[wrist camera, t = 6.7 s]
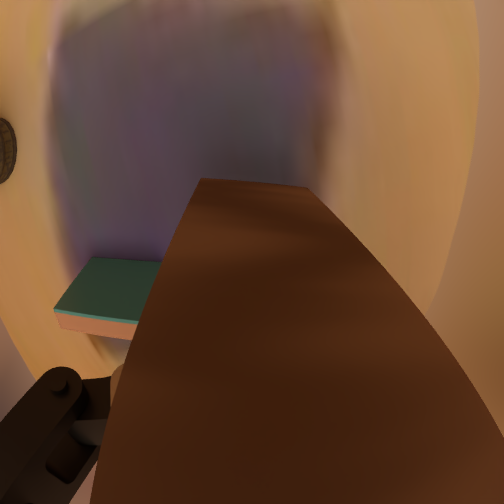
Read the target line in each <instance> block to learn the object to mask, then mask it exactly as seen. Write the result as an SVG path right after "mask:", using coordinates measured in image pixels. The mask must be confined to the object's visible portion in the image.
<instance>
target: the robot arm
mask: <svg viewBox="0 0 504 504" xmlns="http://www.w3.org/2000/svg"><path fill="white" fill-rule="evenodd" d="M123 365H124V364H122V365H120V366H119V367H118V368H116V370H115V371H114V372H113V374H112V376H109V377H105V378H96V379H83V380H82V379H81V377H80V376H79V374H78V373H77V372H76V371H74V370H73V369H71V368H68V367H55V368H52V369H50V370H48V371H47V372H45V373H44V374H43V375H42V376H41V377H40V378H39V379H38V381H37V382H36V383H35V384H34V385H33V386H32V387H31V388H30V389H29V390H28V391H27V392H26V394H25V395H24V396H23V397H22V398H21V399H20V400H19V401H18V402H17V404H16V405H15V406H14V407H13V408H12V409H11V410H10V412H9V413H8V414H7V415H6V416H5V417H4V419H3V420H2V421H1V422H0V504H69V503H70V501H71V499H72V498H73V496H74V495H75V493H76V492H77V490H78V489H79V487H80V486H81V484H82V483H83V481H84V480H85V478H86V477H87V475H88V474H89V472H90V471H91V469H92V468H93V466H94V465H95V463H96V461H97V460H98V457H99V452H100V448H101V444H102V440H103V435H104V431H105V428H106V424H107V420H108V416H109V412H110V409H111V405H112V402H113V398H114V395H115V391H116V388H117V385H118V381H119V378H120V375H121V372H122V369H123Z"/></svg>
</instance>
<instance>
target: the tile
mask: <svg viewBox="0 0 504 504" xmlns="http://www.w3.org/2000/svg"><path fill="white" fill-rule="evenodd" d="M161 263H162V262H153V261H138V260H125V259H111V258H98V257H92V258H91V259H90V260H89V262H88V263H87V264H86V265H85V267H84V268H83V269H82V270H81V272H80V273H79V274H78V276H77V277H76V278H75V280H74V281H73V282H72V283H71V285H70V286H69V288H68V289H67V290H66V292H65V293H64V294H63V296H62V297H61V298H60V300H59V301H58V303H57V304H56V306H55V307H54V308H53V309H54V312H55V315H56V317H57V320H58V323H59V325H60V328H62V329H67V330H72V331H77V332H83V333H88V334H94V335H100V336H107V337H113V338H120V339H127V340H132V339H133V336H134V333H135V330H136V327H137V325H138V322H139V319H140V316H141V314H142V311H143V308H144V306H145V303H146V301H147V298H148V295H149V293H150V290H151V288H152V285H153V283H154V280H155V278H156V275H157V273H158V271H159V268H160V266H161Z"/></svg>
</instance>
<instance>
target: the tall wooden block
mask: <svg viewBox="0 0 504 504" xmlns="http://www.w3.org/2000/svg"><path fill="white" fill-rule="evenodd" d="M90 504H504V437H503V436H502V434H501V432H500V430H499V428H498V426H497V424H496V423H495V421H494V419H493V417H492V416H491V414H490V412H489V411H488V409H487V407H486V405H485V404H484V402H483V400H482V399H481V397H480V395H479V394H478V392H477V391H476V389H475V387H474V386H473V384H472V383H471V381H470V380H469V378H468V377H467V375H466V374H465V372H464V371H463V369H462V368H461V366H460V365H459V363H458V362H457V360H456V359H455V357H454V356H453V355H452V353H451V352H450V350H449V349H448V348H447V346H446V345H445V343H444V342H443V341H442V339H441V338H440V336H439V335H438V334H437V332H436V331H435V330H434V328H433V327H432V326H431V325H430V323H429V322H428V321H427V319H426V318H425V317H424V315H423V314H422V313H421V312H420V310H419V309H418V308H417V307H416V305H415V304H414V303H413V302H412V300H411V299H410V298H409V297H408V295H407V294H406V293H405V292H404V291H403V289H402V288H401V287H400V286H399V285H398V283H397V282H396V281H395V280H394V279H393V278H392V276H391V275H390V274H389V273H388V272H387V271H386V269H385V268H384V267H383V266H382V265H381V264H380V263H379V261H378V260H377V259H376V258H375V257H374V256H373V255H372V254H371V253H370V251H369V250H368V249H367V248H366V247H365V246H364V245H363V244H362V243H361V242H360V241H359V240H358V238H357V237H356V236H355V235H354V234H353V233H352V232H351V231H350V230H349V229H348V228H347V227H346V226H345V225H344V224H343V223H342V222H341V221H340V220H339V219H338V218H337V216H336V215H335V214H334V213H333V212H332V211H331V210H330V209H329V208H328V207H327V206H326V205H325V204H324V203H323V202H322V201H321V200H320V199H318V198H317V197H316V196H315V195H314V194H313V193H312V192H311V191H310V190H309V189H308V188H305V187H297V186H288V185H279V184H270V183H260V182H249V181H237V180H224V179H209V178H201V179H200V181H199V183H198V185H197V187H196V189H195V191H194V193H193V195H192V197H191V199H190V201H189V203H188V205H187V207H186V210H185V212H184V214H183V216H182V218H181V220H180V222H179V225H178V227H177V229H176V231H175V233H174V236H173V238H172V240H171V242H170V245H169V247H168V249H167V252H166V254H165V256H164V259H163V261H162V263H161V266H160V268H159V271H158V273H157V275H156V278H155V280H154V283H153V285H152V288H151V290H150V293H149V295H148V298H147V301H146V303H145V306H144V308H143V311H142V314H141V316H140V319H139V322H138V325H137V327H136V330H135V333H134V336H133V339H132V342H131V344H130V347H129V350H128V353H127V356H126V359H125V362H124V365H123V369H122V372H121V375H120V378H119V381H118V385H117V388H116V391H115V395H114V398H113V402H112V405H111V409H110V412H109V416H108V420H107V424H106V428H105V431H104V435H103V440H102V444H101V448H100V452H99V457H98V461H97V466H96V471H95V476H94V482H93V487H92V493H91V498H90Z"/></svg>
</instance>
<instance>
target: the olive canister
mask: <svg viewBox="0 0 504 504" xmlns="http://www.w3.org/2000/svg"><path fill="white" fill-rule="evenodd" d="M16 153H17V145H16V137H15V134H14V130H13V128H12V127H11V125H10V123H9V122H8V121H6V120H5V119H1V118H0V184H1V183H3V182H4V181H6V180H7V179H8V178H9V176H10V175H11V173H12V171H13V168H14V165H15V162H16Z"/></svg>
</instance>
